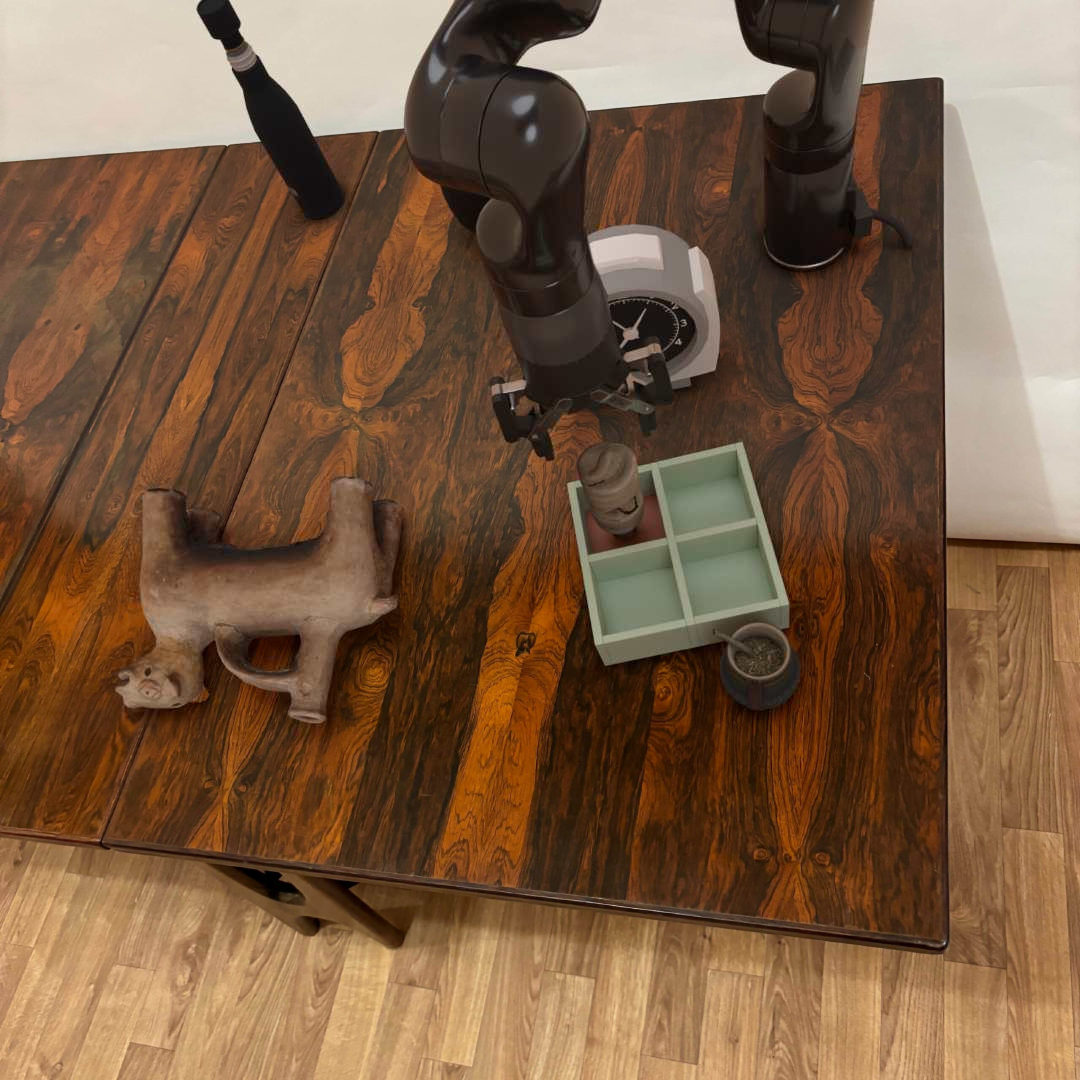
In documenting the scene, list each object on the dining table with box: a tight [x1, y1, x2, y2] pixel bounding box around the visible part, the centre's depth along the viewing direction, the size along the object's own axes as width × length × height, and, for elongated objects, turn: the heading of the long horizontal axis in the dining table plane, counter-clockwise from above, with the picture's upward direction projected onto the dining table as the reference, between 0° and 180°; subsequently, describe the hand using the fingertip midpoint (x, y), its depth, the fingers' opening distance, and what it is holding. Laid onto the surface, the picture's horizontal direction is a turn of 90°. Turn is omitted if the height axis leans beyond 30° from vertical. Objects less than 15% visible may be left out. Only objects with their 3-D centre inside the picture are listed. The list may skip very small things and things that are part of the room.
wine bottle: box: [196, 0, 345, 221], centre depth 119 cm, size 6×6×30 cm
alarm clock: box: [587, 223, 721, 390], centre depth 97 cm, size 18×8×20 cm, turn 91°
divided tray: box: [566, 441, 790, 667], centre depth 92 cm, size 18×18×6 cm
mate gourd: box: [712, 622, 801, 711], centre depth 83 cm, size 7×8×10 cm
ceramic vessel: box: [114, 476, 405, 724], centre depth 97 cm, size 13×31×25 cm
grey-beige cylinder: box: [576, 441, 644, 539], centre depth 90 cm, size 6×6×15 cm
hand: (597, 440), depth 81 cm, fingers open, 8 cm apart
